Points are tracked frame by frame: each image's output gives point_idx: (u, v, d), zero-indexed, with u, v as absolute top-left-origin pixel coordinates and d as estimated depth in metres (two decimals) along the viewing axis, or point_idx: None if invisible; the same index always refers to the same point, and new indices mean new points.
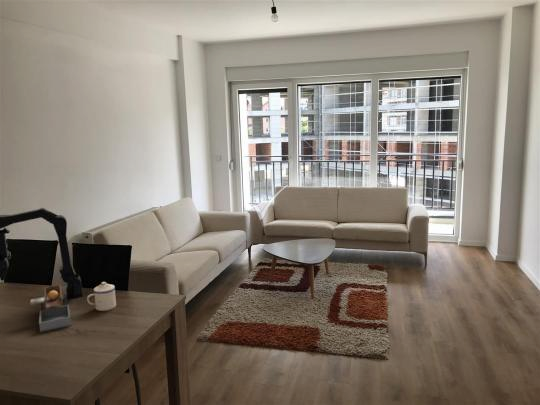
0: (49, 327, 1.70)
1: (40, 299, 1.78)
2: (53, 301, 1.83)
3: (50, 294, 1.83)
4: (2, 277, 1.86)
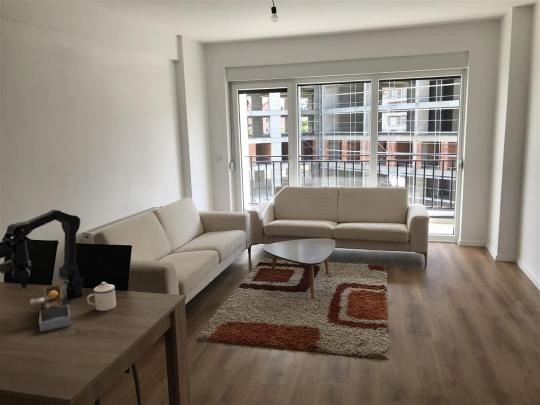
0: (49, 327, 1.70)
1: (40, 299, 1.78)
2: (53, 301, 1.83)
3: (50, 294, 1.83)
4: (24, 284, 1.83)
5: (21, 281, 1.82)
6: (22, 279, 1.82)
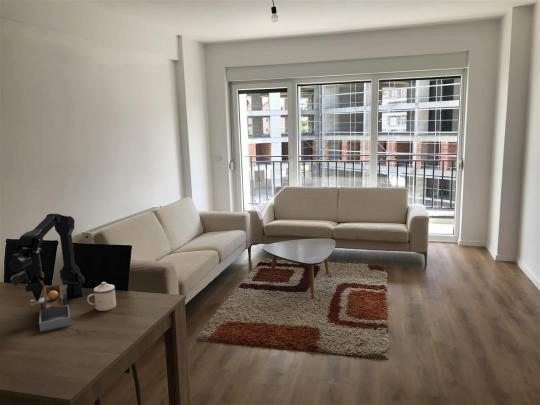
0: (49, 327, 1.70)
1: (40, 299, 1.78)
2: (53, 301, 1.83)
3: (50, 294, 1.83)
4: (37, 297, 1.76)
5: (34, 293, 1.75)
6: (35, 291, 1.75)
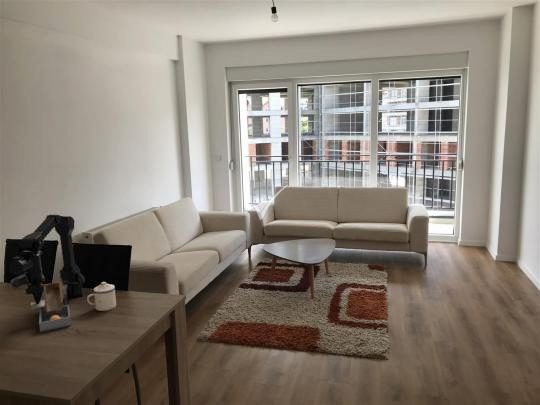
0: (49, 327, 1.70)
1: (40, 303, 1.77)
2: (53, 303, 1.83)
3: None
4: (37, 300, 1.76)
5: (35, 297, 1.75)
6: (36, 294, 1.75)
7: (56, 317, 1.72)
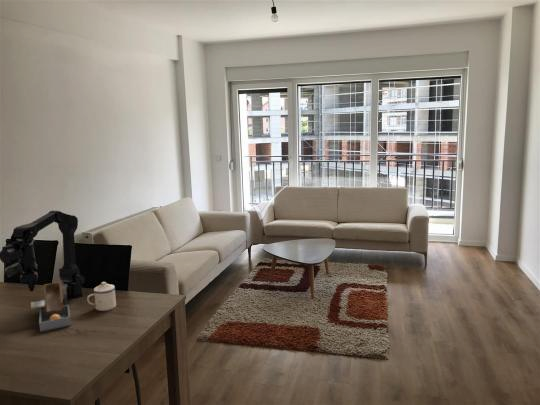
0: (49, 327, 1.70)
1: (40, 303, 1.77)
2: (53, 303, 1.83)
3: None
4: (31, 288, 1.80)
5: (28, 284, 1.79)
6: (29, 282, 1.79)
7: (56, 314, 1.75)
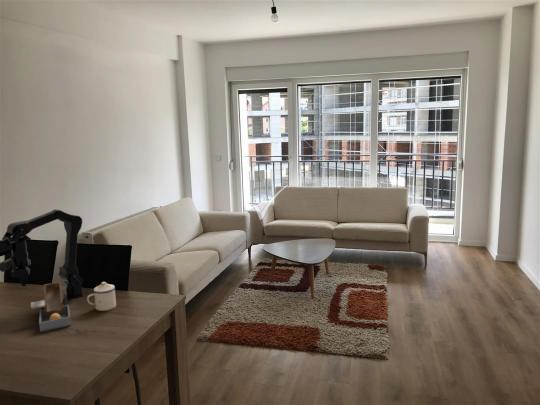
0: (49, 327, 1.70)
1: (40, 303, 1.77)
2: (53, 303, 1.83)
3: (52, 318, 1.73)
4: (23, 283, 1.85)
5: (21, 279, 1.84)
6: (22, 277, 1.84)
7: None
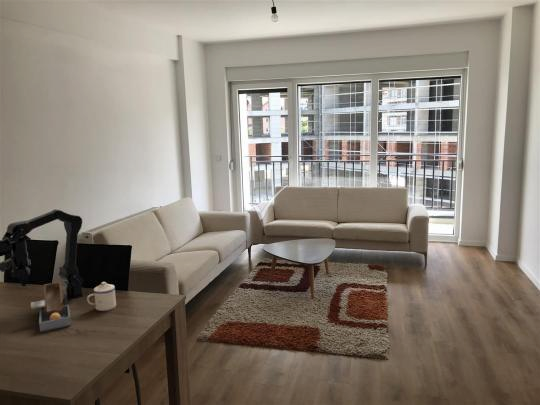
0: (49, 327, 1.70)
1: (40, 303, 1.77)
2: (53, 303, 1.83)
3: (52, 317, 1.74)
4: (23, 283, 1.85)
5: (21, 279, 1.84)
6: (22, 277, 1.84)
7: None
